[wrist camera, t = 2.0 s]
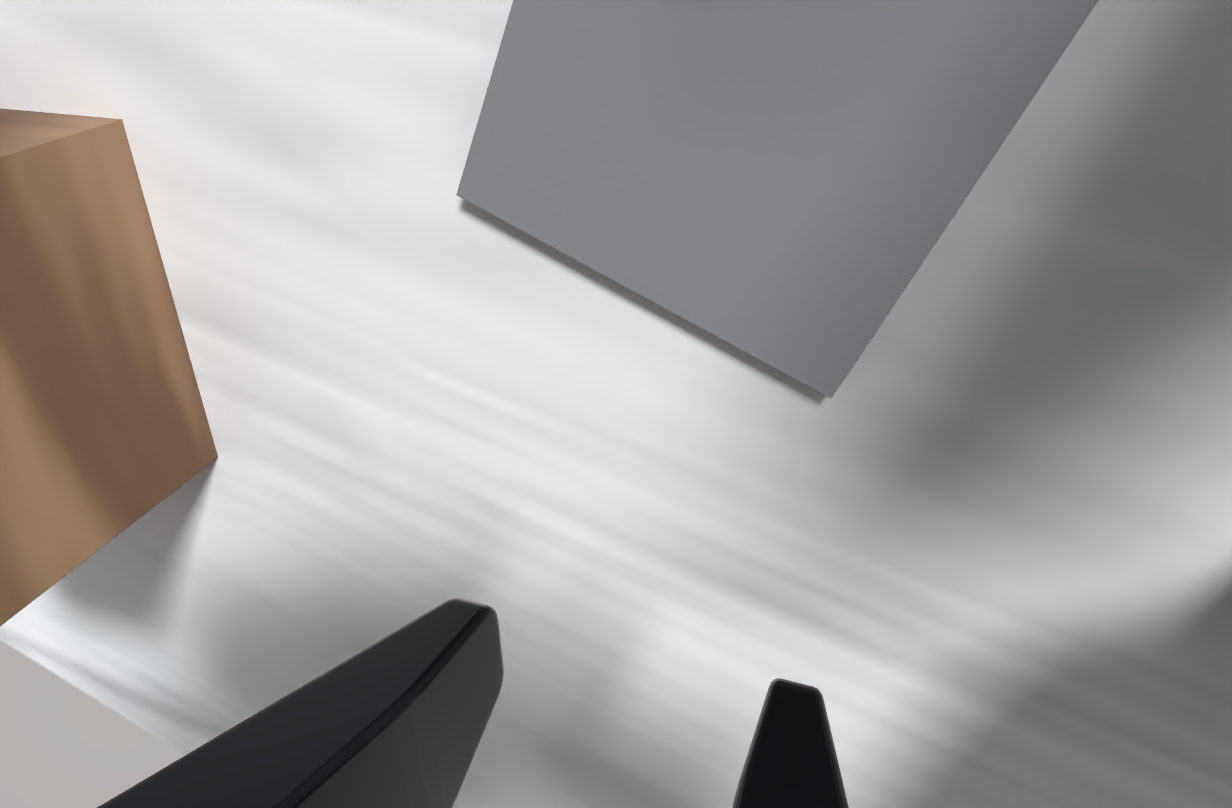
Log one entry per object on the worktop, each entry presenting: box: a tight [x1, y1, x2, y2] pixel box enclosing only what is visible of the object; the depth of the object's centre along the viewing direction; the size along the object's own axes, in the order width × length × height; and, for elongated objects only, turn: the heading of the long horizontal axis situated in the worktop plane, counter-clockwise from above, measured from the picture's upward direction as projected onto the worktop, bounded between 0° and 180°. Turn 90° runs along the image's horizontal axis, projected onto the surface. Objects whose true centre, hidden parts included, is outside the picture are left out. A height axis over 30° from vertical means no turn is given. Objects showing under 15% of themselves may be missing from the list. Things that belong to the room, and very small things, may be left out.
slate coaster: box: [457, 0, 1098, 398], centre depth 17 cm, size 9×9×1 cm
